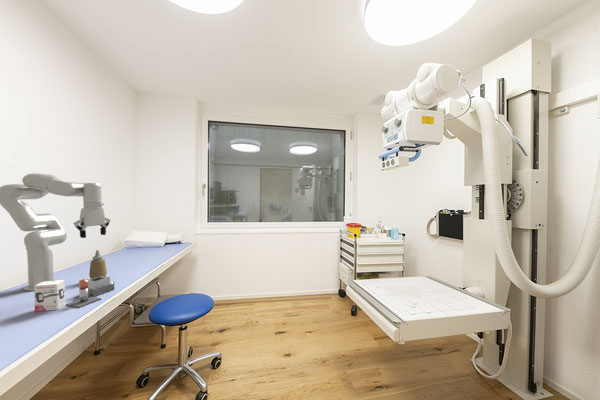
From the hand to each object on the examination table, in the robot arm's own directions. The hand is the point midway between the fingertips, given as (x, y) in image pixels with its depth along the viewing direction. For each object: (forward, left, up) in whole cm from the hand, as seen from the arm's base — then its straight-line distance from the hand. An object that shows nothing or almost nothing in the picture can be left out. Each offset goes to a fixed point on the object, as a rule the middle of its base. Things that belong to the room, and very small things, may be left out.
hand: (93, 236), depth 129 cm
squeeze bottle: (-10, +8, -28) cm, 31 cm away
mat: (+17, -15, -28) cm, 36 cm away
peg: (+17, -15, -28) cm, 36 cm away
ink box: (+9, -23, -29) cm, 38 cm away
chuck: (+10, -4, -28) cm, 30 cm away
